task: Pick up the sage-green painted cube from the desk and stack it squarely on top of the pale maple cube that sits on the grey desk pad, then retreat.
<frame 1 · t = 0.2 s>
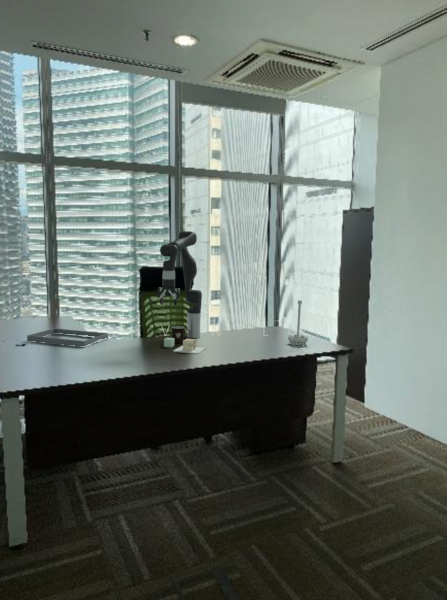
hand: (168, 305, 269), 28 cm above the table, fingers open, 8 cm apart
desk pad: (189, 350, 274), on the table
document tray: (68, 340, 291), on the table
flag stand: (297, 344, 301), on the table
coffee mug: (179, 342, 296), on the table
sage block: (169, 346, 284), on the table
maple block: (189, 349, 273), point 1 cm above the table, touching desk pad
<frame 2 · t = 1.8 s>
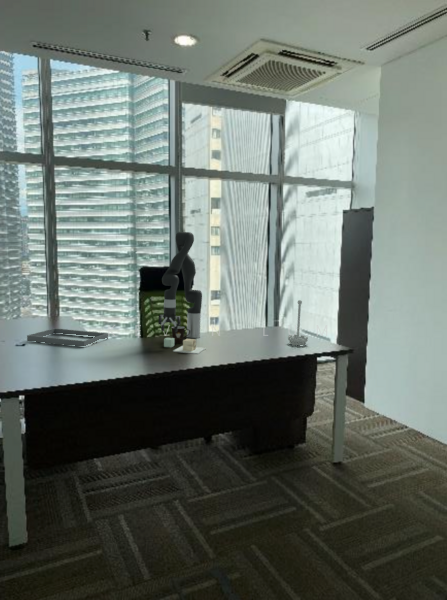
hand: (169, 331, 282), 9 cm above the table, fingers open, 8 cm apart
nothing on the table moved.
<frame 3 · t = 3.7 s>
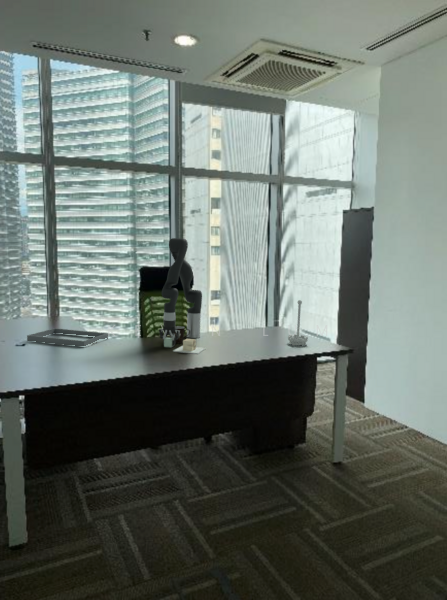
hand: (169, 345, 284), 0 cm above the table, fingers closed on sage block, 5 cm apart
sage block: (169, 346, 284), on the table, touching gripper
everything else where it was.
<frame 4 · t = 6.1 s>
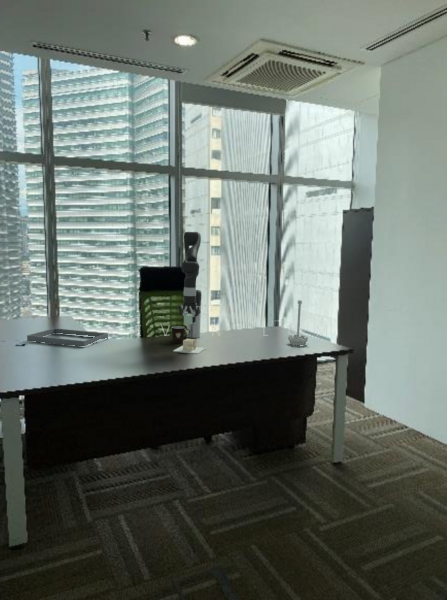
hand: (189, 322, 271), 18 cm above the table, fingers closed on sage block, 5 cm apart
sage block: (189, 323, 271), point 17 cm above the table, touching gripper
everything else where it was.
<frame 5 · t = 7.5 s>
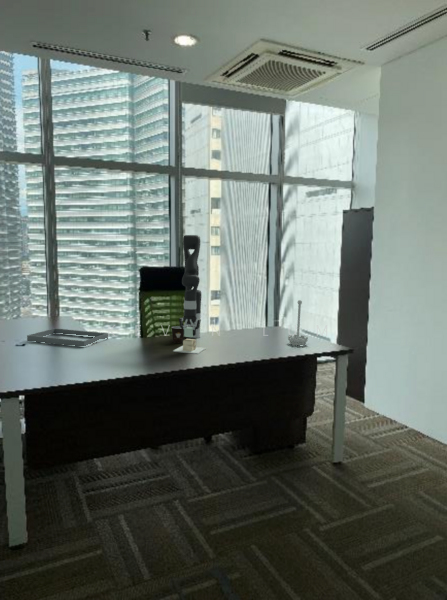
hand: (189, 335, 272), 10 cm above the table, fingers closed on sage block, 5 cm apart
sage block: (189, 336, 272), point 9 cm above the table, touching gripper
everything else where it was.
when the fingers open (8 cm above the table, at t = 8.6 s): sage block drops 1 cm, resting on maple block.
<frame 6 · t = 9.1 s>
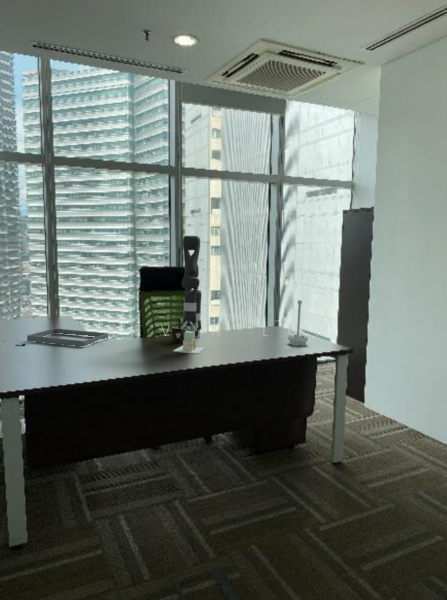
hand: (189, 336, 272), 9 cm above the table, fingers open, 8 cm apart
sage block: (189, 340, 273), point 7 cm above the table, touching maple block
maple block: (189, 349, 273), point 1 cm above the table, touching desk pad, sage block
everything else where it was.
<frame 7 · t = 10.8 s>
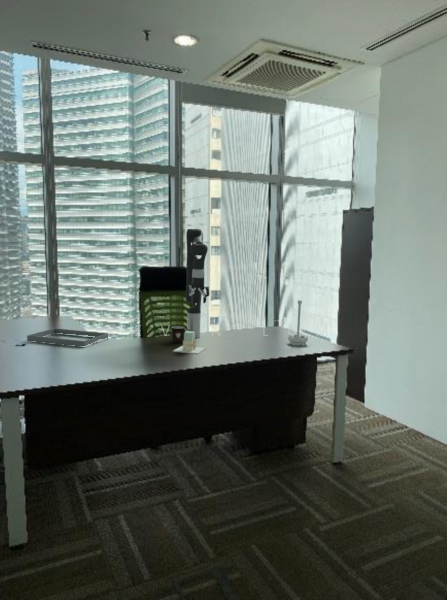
hand: (197, 302, 276), 29 cm above the table, fingers open, 8 cm apart
nothing on the table moved.
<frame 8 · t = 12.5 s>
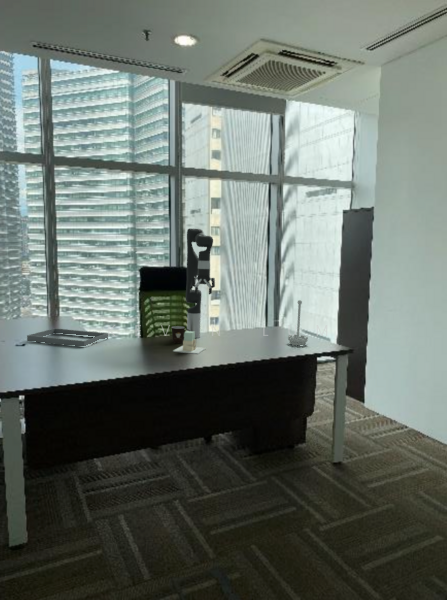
hand: (203, 293, 280), 34 cm above the table, fingers open, 8 cm apart
nothing on the table moved.
at the end: sage block 0.1 cm off-centre on the maple block, point 6.0 cm above the maple block's base; sage block tilted 0°; maple block moved 0.0 cm from its start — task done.
